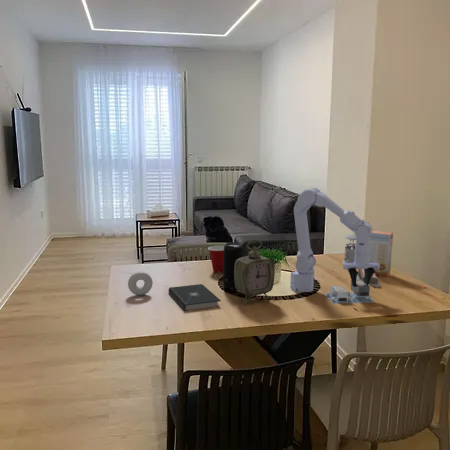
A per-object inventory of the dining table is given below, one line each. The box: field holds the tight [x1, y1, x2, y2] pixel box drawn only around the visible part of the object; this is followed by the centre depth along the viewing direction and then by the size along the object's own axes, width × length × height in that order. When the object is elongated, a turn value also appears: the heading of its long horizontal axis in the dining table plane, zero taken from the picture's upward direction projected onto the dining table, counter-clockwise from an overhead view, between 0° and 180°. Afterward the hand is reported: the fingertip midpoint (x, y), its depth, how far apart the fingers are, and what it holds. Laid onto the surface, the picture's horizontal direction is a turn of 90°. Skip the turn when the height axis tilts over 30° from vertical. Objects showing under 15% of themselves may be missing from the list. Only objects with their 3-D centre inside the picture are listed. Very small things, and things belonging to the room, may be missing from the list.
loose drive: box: [350, 280, 371, 297], centre depth 191 cm, size 4×8×4 cm, turn 7°
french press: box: [341, 232, 356, 264], centre depth 249 cm, size 10×12×25 cm
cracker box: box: [369, 230, 394, 278], centre depth 229 cm, size 14×6×21 cm, turn 58°
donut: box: [127, 271, 153, 296], centre depth 194 cm, size 10×4×10 cm, turn 106°
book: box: [168, 283, 222, 312], centre depth 190 cm, size 22×15×3 cm
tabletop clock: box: [234, 238, 275, 305], centre depth 189 cm, size 14×9×25 cm, turn 122°
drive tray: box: [323, 291, 375, 305], centre depth 192 cm, size 17×11×3 cm, turn 97°
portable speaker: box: [222, 242, 244, 292], centre depth 203 cm, size 9×9×20 cm
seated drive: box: [330, 285, 350, 302], centre depth 191 cm, size 4×8×4 cm, turn 7°
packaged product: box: [356, 269, 382, 288], centre depth 219 cm, size 18×5×10 cm
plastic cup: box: [207, 245, 225, 273], centre depth 230 cm, size 11×11×12 cm
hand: (359, 285), depth 191 cm, fingers closed on loose drive, 4 cm apart
